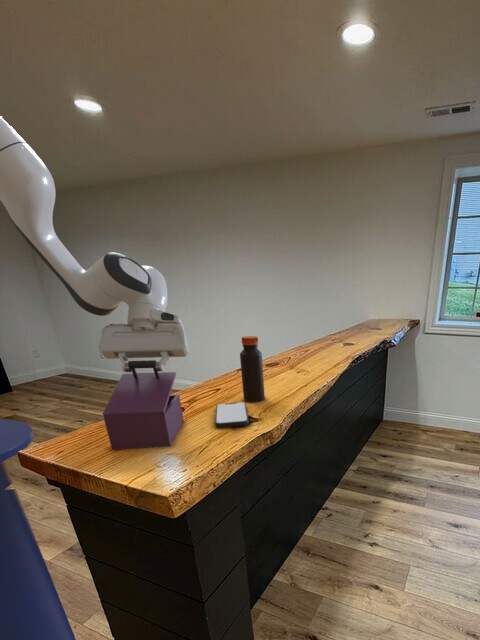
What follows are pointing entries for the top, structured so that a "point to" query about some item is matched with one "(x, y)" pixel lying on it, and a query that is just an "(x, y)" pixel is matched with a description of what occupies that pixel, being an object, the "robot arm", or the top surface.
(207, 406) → the top surface
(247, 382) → the bottle
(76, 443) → the top surface
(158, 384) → the lid
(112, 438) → the purple box
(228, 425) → the smartphone
